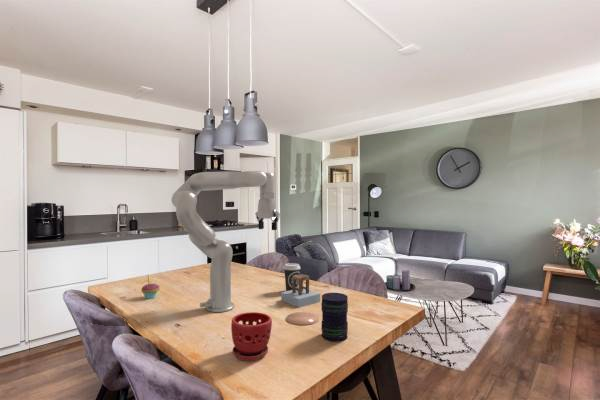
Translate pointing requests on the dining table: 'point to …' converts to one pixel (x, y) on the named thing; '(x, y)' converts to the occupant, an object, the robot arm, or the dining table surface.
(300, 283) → the stool
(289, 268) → the coffee cup
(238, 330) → the plant pot
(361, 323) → the dining table surface
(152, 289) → the cupcake
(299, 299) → the step
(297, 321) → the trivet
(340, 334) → the storage jar
